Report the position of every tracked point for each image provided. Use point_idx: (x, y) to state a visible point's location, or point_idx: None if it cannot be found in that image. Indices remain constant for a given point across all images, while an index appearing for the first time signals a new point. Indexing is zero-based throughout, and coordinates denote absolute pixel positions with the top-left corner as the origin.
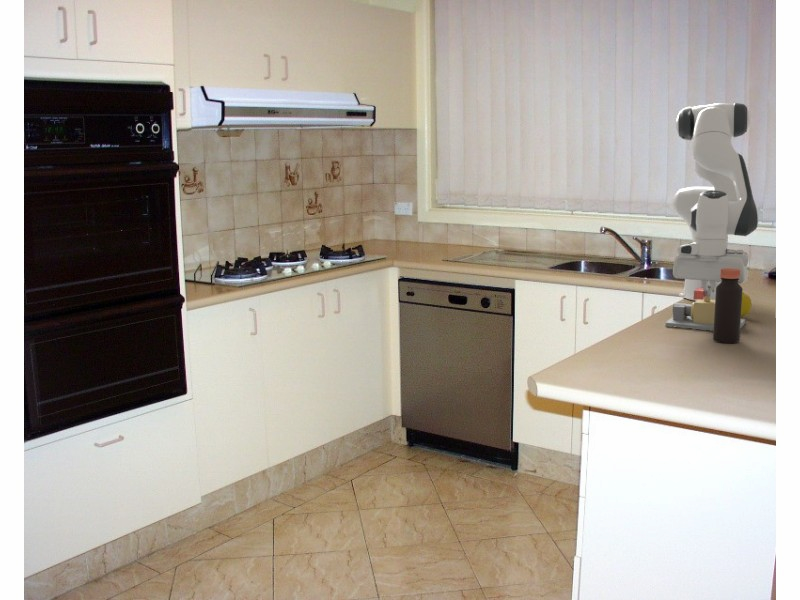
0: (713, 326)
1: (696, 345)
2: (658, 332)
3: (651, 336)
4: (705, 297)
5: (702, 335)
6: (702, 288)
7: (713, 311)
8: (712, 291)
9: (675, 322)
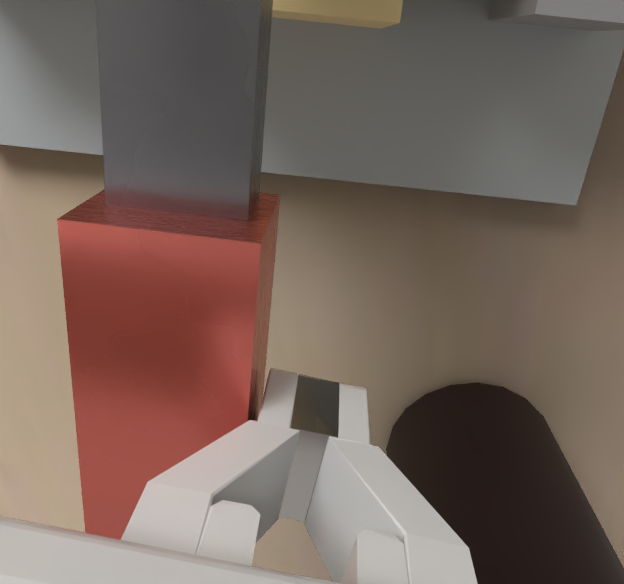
0: (378, 153)
1: (304, 573)
2: (19, 352)
3: (25, 464)
4: (266, 346)
5: (310, 343)
6: (161, 325)
7: (373, 24)
8: (368, 429)
9: (33, 100)
